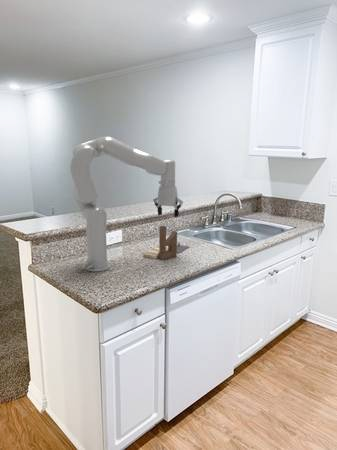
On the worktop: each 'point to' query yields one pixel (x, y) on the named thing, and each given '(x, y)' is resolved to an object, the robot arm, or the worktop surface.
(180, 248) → the end mark
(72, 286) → the worktop surface
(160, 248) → the wooden block
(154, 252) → the wooden slatted rack
